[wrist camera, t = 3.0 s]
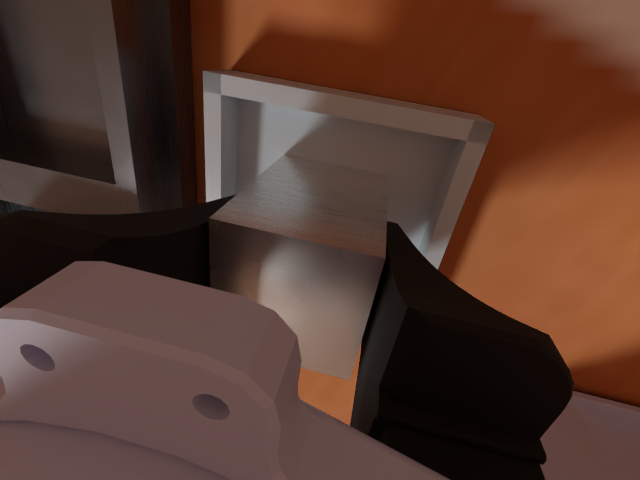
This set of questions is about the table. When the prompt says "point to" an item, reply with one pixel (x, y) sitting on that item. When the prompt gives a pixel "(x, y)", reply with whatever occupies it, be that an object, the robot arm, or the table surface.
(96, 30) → the metal divided rack
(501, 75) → the table surface
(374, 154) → the grey square tray
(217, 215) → the loose billet
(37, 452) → the robot arm
